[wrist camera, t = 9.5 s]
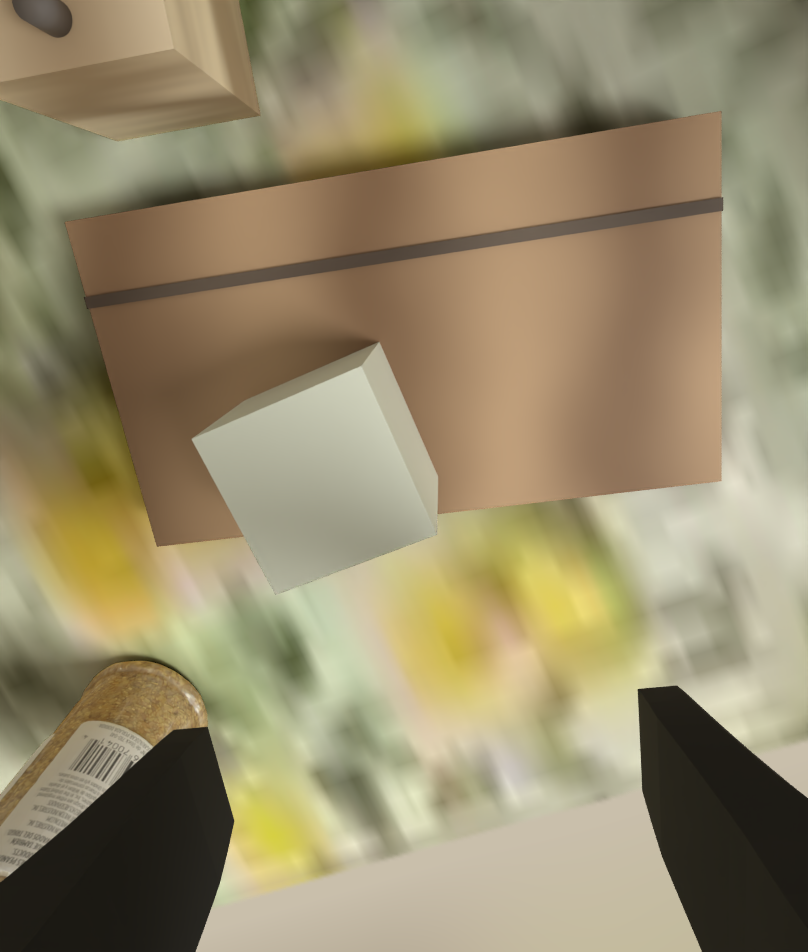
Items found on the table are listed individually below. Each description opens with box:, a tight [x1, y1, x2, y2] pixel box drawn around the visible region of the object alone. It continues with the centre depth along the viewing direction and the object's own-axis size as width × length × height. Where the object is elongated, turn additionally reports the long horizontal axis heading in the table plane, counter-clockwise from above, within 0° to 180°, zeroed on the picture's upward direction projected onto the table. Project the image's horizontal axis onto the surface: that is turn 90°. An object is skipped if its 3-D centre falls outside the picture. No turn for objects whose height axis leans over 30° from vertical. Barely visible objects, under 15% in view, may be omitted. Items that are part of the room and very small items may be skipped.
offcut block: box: [192, 342, 438, 595], centre depth 16 cm, size 4×4×4 cm
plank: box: [65, 111, 723, 547], centre depth 18 cm, size 16×9×2 cm, turn 98°
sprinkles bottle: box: [0, 661, 208, 882], centre depth 17 cm, size 5×5×13 cm
